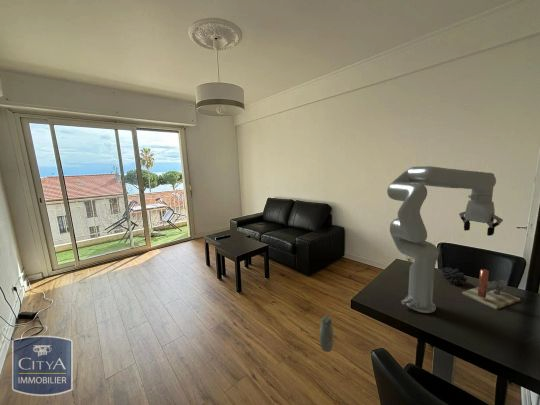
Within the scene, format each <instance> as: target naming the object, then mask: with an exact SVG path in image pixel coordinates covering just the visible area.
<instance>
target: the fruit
mask: <svg viewBox="0 0 540 405" xmlns="http://www.w3.org/2000/svg"><path fill="white" fill-rule="evenodd" d="M441 272H442V276H444V277H445V280H447V281H448V282H449V284H451V285H454V286H457V285H460V286H461V285H464V284H466V282H467V280H468V278H467V277H465V274H464V272H460V270H459V269H458V268H455V269H454V268H452V267H443V268H441Z"/></svg>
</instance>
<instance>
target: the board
mask: <svg viewBox="0 0 540 405" xmlns="http://www.w3.org/2000/svg"><path fill="white" fill-rule="evenodd" d="M461 294H462V295H464V296H466V297H467V298H470V299H472V300H474V301H477V302H479V303H481V304H483V305H484V306H485V305H486V306H488V307H490V308H492V309H494V310H499V309H501V308H505V307H507V306H509V305H512V304H515V303H517V302H520V301H521V298H520V297H518V296H515V295H512V294H510V293H507V292H504V291H503V290H502V289H495V290H492V291H489V292H487V293H486V297H485V298H483V297H480V296H478V286H477V287H473V288H470V289H467V290H465V291H464V290H463V291H462V292H461Z"/></svg>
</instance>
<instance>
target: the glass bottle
mask: <svg viewBox="0 0 540 405" xmlns="http://www.w3.org/2000/svg"><path fill="white" fill-rule="evenodd" d="M318 335H319V346H320V348H321V350H322V351H323V352H326V353H330V352H331V351H332V350H333V346H334V329H333V326H332V320H331V317H329V316H325V315H324V316H322V318H321V325H320V327H319V334H318Z"/></svg>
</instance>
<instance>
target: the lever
mask: <svg viewBox="0 0 540 405" xmlns="http://www.w3.org/2000/svg"><path fill="white" fill-rule="evenodd" d="M489 273H490V271H489V270H488V269H483V268H481V269H479V277H478V286H477V287H478V296H480V297H483V298H485V297H486V293H487V292H489V291H492V290H495V289H501V291H506V290H507V286H508V281H507V280H504V279H500V280H492V281H491V284H488V281H489ZM487 284H488V285H487Z"/></svg>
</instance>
